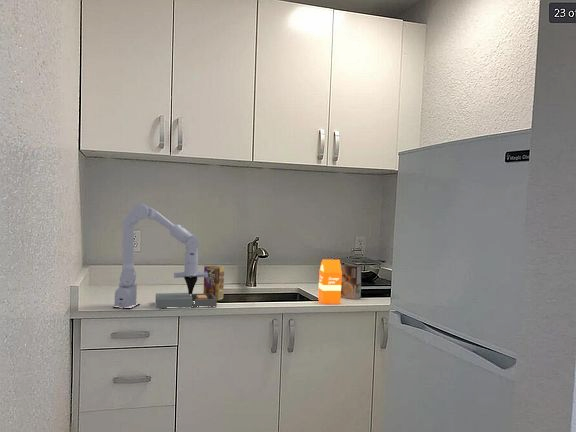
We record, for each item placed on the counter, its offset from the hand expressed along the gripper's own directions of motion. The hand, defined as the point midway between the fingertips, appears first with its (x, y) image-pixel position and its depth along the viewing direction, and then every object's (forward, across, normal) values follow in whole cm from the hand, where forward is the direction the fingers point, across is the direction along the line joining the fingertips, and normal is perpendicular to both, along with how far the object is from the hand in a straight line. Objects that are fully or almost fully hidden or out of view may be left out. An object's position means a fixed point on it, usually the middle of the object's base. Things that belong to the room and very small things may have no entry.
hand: (190, 293), depth 224 cm
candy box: (+5, +12, +11) cm, 17 cm away
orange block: (+1, +5, 0) cm, 5 cm away
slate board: (+5, -7, 0) cm, 9 cm away
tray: (+5, +6, 0) cm, 7 cm away
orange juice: (+5, +65, -2) cm, 65 cm away
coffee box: (+5, +80, +6) cm, 80 cm away
